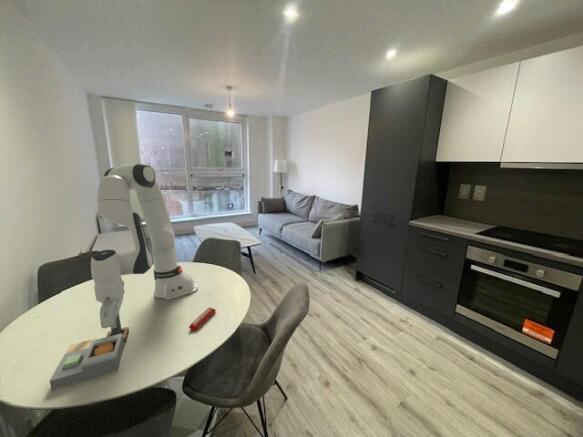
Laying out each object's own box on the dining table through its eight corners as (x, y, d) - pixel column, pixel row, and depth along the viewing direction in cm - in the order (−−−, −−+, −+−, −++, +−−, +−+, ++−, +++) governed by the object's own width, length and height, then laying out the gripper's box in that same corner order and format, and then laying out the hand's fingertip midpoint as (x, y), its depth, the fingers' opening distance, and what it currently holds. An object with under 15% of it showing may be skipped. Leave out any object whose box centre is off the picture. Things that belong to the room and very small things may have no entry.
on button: (82, 360, 82) (81, 353, 81) (79, 368, 79) (77, 360, 78) (69, 364, 80) (67, 356, 80) (65, 372, 77) (63, 364, 77)
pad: (96, 340, 94) (96, 338, 94) (90, 354, 87) (90, 352, 87) (70, 346, 91) (70, 344, 90) (62, 361, 84) (61, 359, 83)
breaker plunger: (115, 348, 87) (114, 341, 86) (112, 358, 82) (111, 350, 81) (97, 353, 84) (96, 345, 84) (93, 363, 80) (92, 356, 79)
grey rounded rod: (123, 335, 97) (120, 314, 95) (121, 340, 94) (118, 318, 92) (113, 338, 96) (110, 316, 93) (112, 343, 93) (108, 320, 91)
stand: (129, 331, 99) (128, 326, 99) (126, 342, 93) (125, 336, 93) (109, 336, 96) (108, 331, 96) (105, 347, 90) (104, 342, 90)
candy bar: (194, 333, 99) (194, 327, 99) (187, 331, 100) (187, 325, 100) (216, 311, 114) (216, 306, 114) (210, 310, 115) (210, 305, 115)
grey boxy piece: (124, 346, 91) (122, 333, 90) (118, 370, 80) (115, 355, 79) (66, 362, 83) (63, 347, 82) (51, 390, 73) (47, 374, 72)
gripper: (114, 303, 83) (120, 337, 86) (124, 279, 101) (128, 308, 104) (91, 308, 80) (98, 343, 83) (106, 282, 98) (111, 312, 101)
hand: (115, 323), depth 93 cm, fingers closed on grey rounded rod, 3 cm apart
